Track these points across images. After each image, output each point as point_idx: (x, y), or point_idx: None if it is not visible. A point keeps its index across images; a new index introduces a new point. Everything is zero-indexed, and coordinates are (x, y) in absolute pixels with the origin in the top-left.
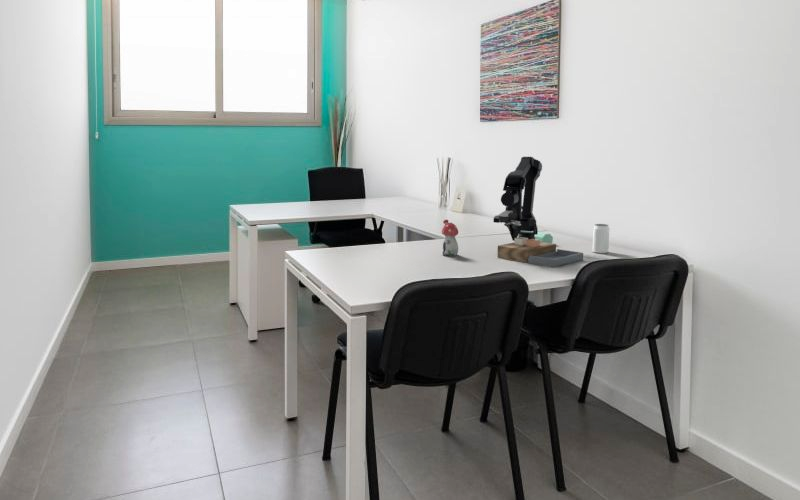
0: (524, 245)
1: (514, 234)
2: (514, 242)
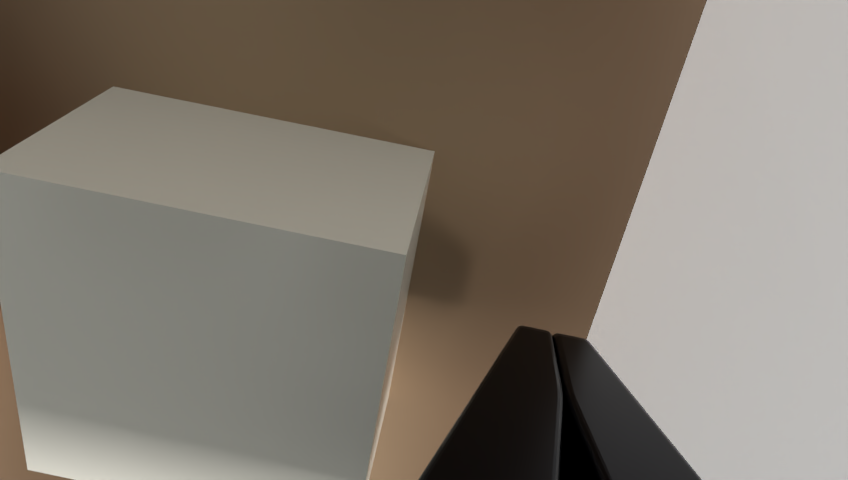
0: (23, 72)
1: (462, 458)
2: None
